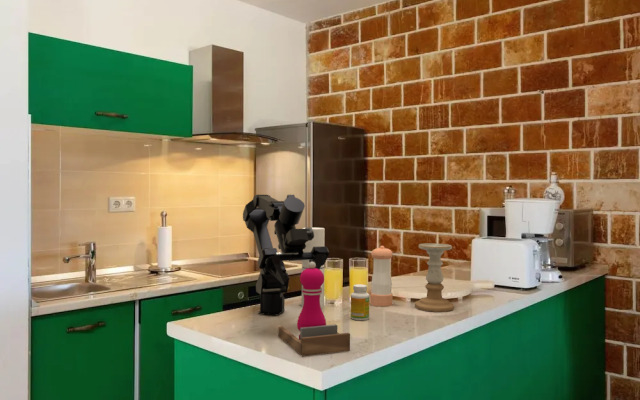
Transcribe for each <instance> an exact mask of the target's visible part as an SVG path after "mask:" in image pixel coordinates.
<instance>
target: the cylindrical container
mask: <svg viewBox="0 0 640 400" xmlns="http://www.w3.org/2000/svg"><path fill="white" fill-rule="evenodd" d="M305 228H306V227H302V228H301V229H305ZM312 230H313V232H314V238H313V239H312V240H309V241H307V242H306V243H305V245H306V247H305V249H303V253H304V252H311V251H312V249H313V247H318V246H325V234H326V231H325V228H324V227H312ZM325 247H326V246H325ZM307 268H309V260H303V261H301V273H302V272H303V271H304V270H305V269H307ZM320 270H321V271H322V273H323V275H324V276H325V264H324V265H322V266H321V267H320ZM302 288H303V285H302V284H301V289H302ZM321 288H322V294H320V306H321V309H323V308H324V307H325V282H324V283H323V284H322V285H321ZM303 305H304V295H303V294H302V293H301V308H303Z"/></svg>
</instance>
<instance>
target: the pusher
mask: <svg viewBox="0 0 640 400" xmlns="http://www.w3.org/2000/svg"><path fill="white" fill-rule="evenodd" d="M337 332H338V325H337V324H326V325H324V326H313V327H303V328H300V331H299V335H300V340H301V338H302V337H311V336H321V335H331V334H337Z"/></svg>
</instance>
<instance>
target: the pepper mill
mask: <svg viewBox="0 0 640 400" xmlns="http://www.w3.org/2000/svg"><path fill="white" fill-rule="evenodd" d="M315 267H316V264H315V263H314V262H310V263H309V268H307V269H305V270H304V271H303V272H302V271H301V273H300V276H299V282H300V284H301V286H302V285H303V288H302V287H301V295H302V294H303V295H304V305H303V307H301V308H302V309H301V311H300V313H299V316H298V318H297V321H296V322H297V324H296V328H297V330H298V331H299V332H300V328H303V327H313V326H324V325H327V321H326V317H325V314H324V312H323V310H322V308H321V306H320V294H322V288H321V285H322V284H323V283H324V284H325V274H324V275H323V273H322V271H321V270H319V269H317V268H315ZM298 339H299V340H300V334H299V335H298Z"/></svg>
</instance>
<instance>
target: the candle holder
mask: <svg viewBox="0 0 640 400" xmlns="http://www.w3.org/2000/svg"><path fill="white" fill-rule="evenodd" d="M418 248H419V249H421V250H424V251H426V253H427V254H428V256H429V257H428V258H429V259H428V261H427V262H426V264H427V265H428V270H427V272H426V276H425V280H426V282H427V283H426V284H425V285H424V287H425V289H426V290H427V292H426V296H424V297H421V298H420V299H419V300H417V301H415V302H414V308H416V309H417V310H421V311H422V312H424V311H425V312H433V313H447V312H451V311H453V310H454V309H455V305H454V303H452V302H450V301H449V299H447V298H443V292H442V291H443V290H444V288H445V286H444V285H443V283H442V282H443V281H444V275H443V272H442V266H443V265H444V263H443V262H442V260H441V257H442V255H443V254H444V252H445V251H450V250H452V249H453V246H452V245H451V244H448V243H447V244H446V243H433V242H432V243H431V242H429V243H419V244H418Z"/></svg>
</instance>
